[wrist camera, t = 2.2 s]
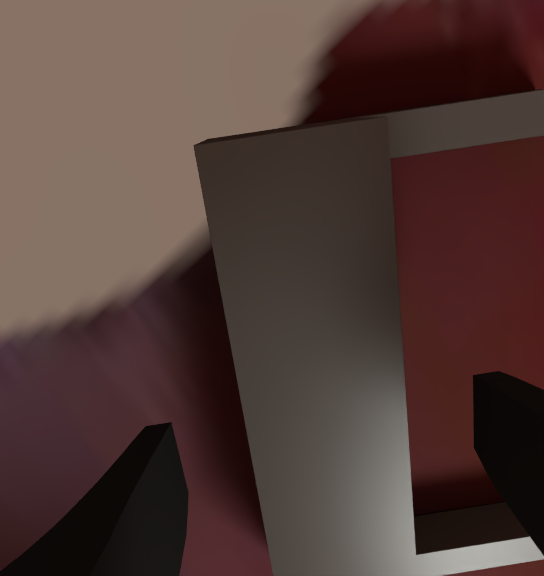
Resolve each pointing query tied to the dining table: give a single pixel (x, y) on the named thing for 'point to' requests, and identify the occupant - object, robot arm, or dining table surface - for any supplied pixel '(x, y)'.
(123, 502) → the robot arm
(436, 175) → the dining table surface
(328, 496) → the grey boxy piece
